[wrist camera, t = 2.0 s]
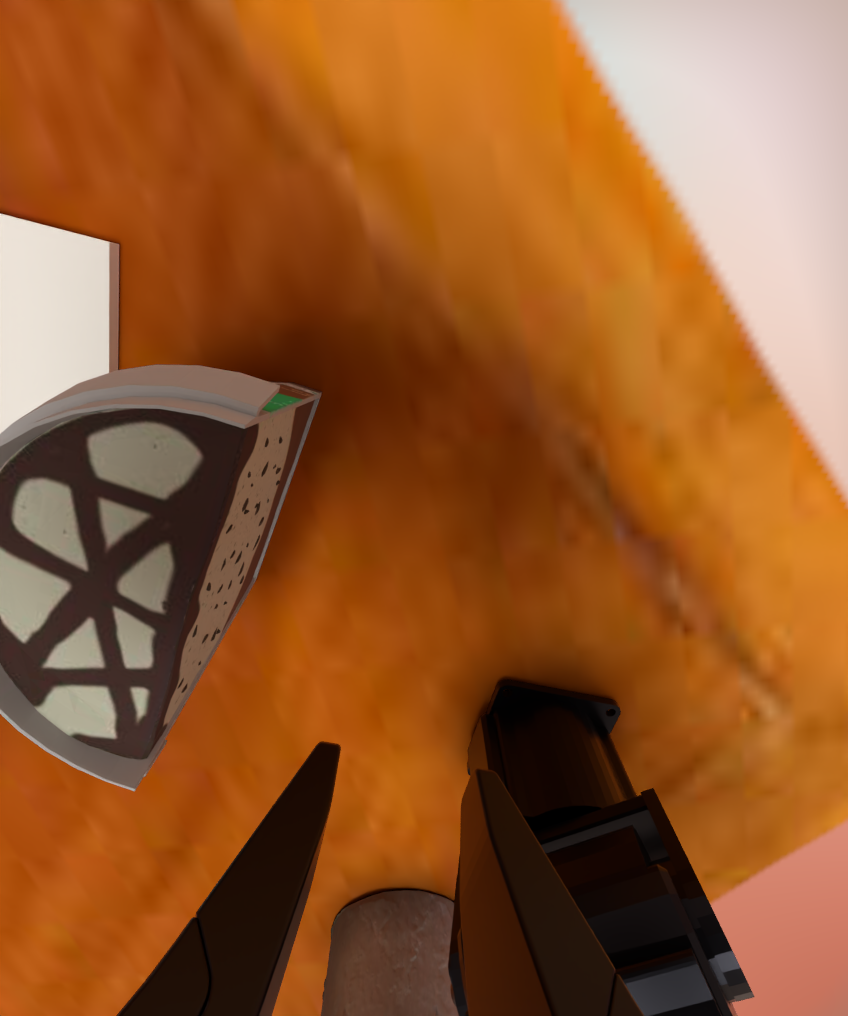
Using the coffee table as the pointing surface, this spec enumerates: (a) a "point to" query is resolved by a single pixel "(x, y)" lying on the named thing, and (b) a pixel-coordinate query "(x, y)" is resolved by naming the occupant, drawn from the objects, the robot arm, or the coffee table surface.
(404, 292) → the coffee table surface
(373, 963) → the pillar candle
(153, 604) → the food container
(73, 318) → the white flat rectangular board
